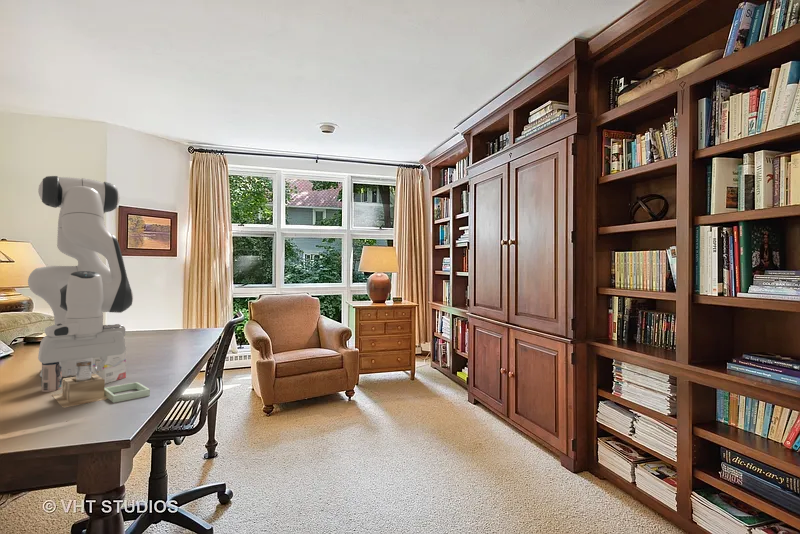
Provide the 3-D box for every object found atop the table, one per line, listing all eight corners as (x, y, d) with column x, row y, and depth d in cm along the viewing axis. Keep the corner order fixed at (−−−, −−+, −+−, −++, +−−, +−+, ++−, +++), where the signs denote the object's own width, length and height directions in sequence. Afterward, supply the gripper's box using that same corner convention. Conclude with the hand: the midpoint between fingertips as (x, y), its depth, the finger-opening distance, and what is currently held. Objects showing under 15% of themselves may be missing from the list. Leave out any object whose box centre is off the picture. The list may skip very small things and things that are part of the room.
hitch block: (51, 398, 123) (52, 377, 123) (100, 389, 132) (100, 370, 132) (63, 411, 112) (63, 389, 112) (115, 401, 121) (115, 380, 121)
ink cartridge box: (114, 379, 144) (114, 336, 144) (126, 380, 143) (126, 337, 143) (91, 386, 136) (91, 341, 136) (103, 387, 135) (104, 341, 135)
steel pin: (74, 396, 122) (74, 362, 122) (89, 393, 124) (89, 360, 124) (77, 399, 119) (77, 364, 119) (92, 396, 122) (92, 362, 122)
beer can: (62, 392, 128) (63, 353, 128) (42, 396, 125) (43, 356, 125) (60, 389, 132) (60, 351, 132) (40, 392, 128) (40, 353, 128)
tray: (102, 397, 124) (102, 388, 124) (137, 390, 131) (137, 382, 131) (113, 406, 117) (113, 396, 117) (149, 398, 124) (149, 389, 124)
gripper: (122, 322, 132) (121, 366, 132) (37, 328, 117) (36, 378, 117) (128, 324, 128) (127, 369, 128) (41, 331, 112) (40, 382, 112)
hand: (83, 373), depth 122 cm, fingers open, 6 cm apart
